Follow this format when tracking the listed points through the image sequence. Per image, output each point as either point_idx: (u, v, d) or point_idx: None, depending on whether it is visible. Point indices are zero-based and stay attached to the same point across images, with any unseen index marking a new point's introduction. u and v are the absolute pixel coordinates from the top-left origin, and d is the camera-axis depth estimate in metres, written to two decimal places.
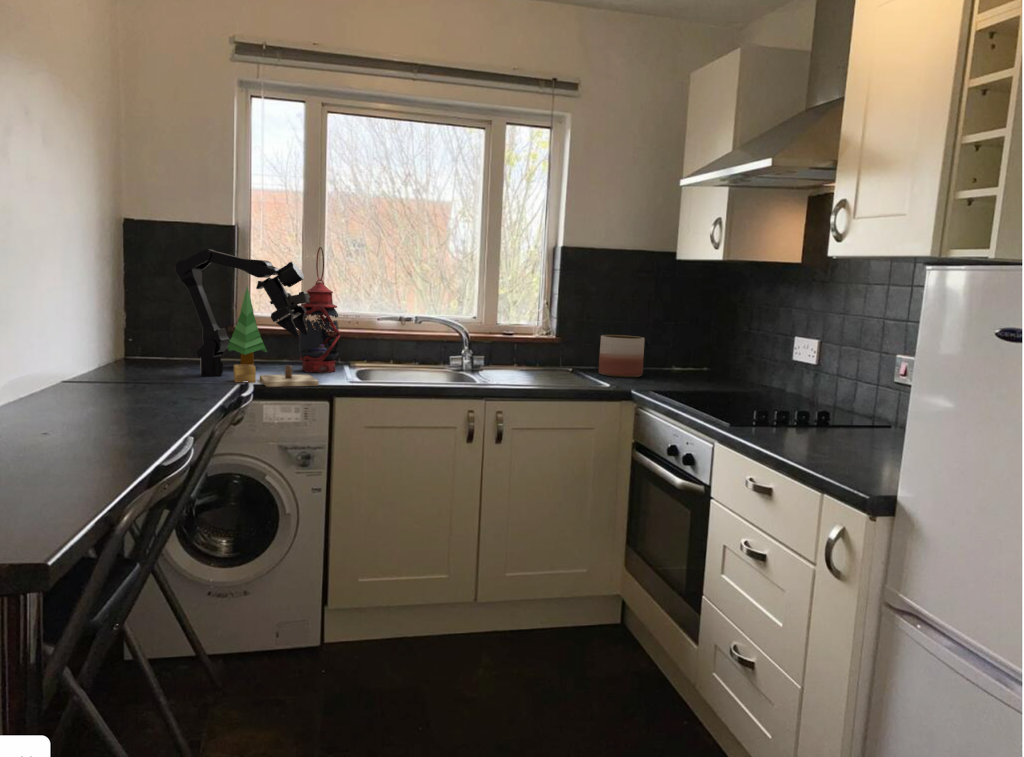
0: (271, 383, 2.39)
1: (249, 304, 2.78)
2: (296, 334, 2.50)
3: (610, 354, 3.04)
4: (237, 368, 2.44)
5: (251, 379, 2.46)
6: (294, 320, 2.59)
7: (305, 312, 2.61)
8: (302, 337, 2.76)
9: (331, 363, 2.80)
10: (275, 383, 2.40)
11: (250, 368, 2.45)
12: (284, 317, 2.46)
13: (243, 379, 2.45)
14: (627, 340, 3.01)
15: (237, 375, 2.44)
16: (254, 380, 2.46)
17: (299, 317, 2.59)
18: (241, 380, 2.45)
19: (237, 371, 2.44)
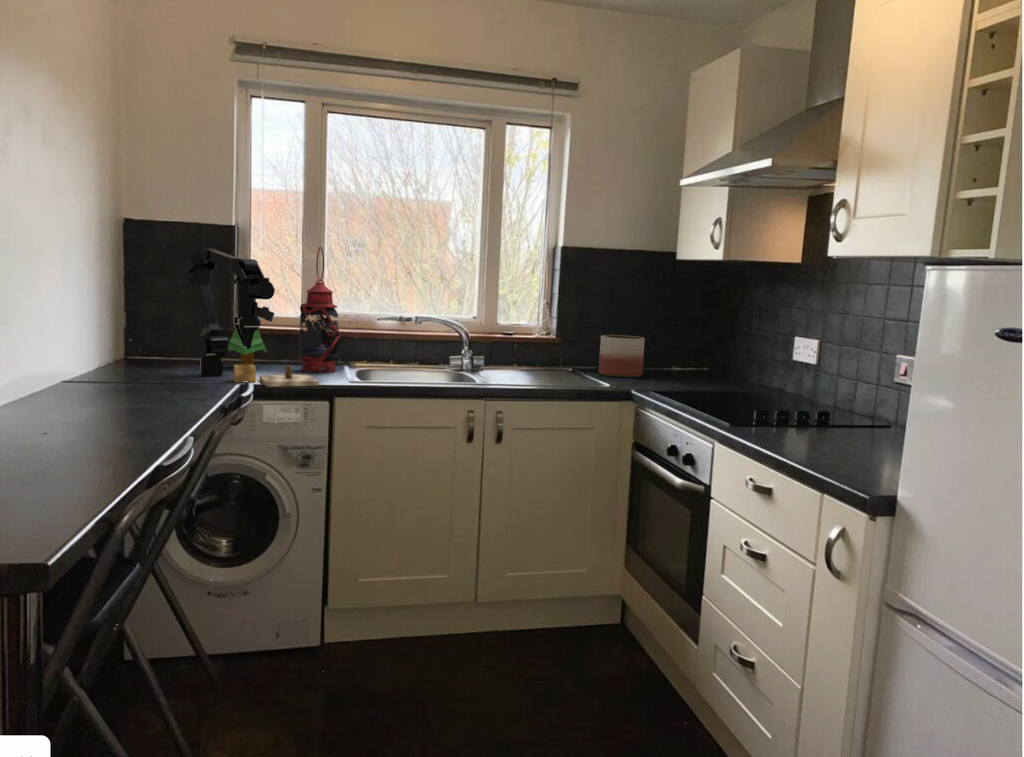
0: (271, 383, 2.39)
1: None
2: (249, 346, 2.42)
3: (610, 354, 3.04)
4: (237, 368, 2.44)
5: (251, 379, 2.46)
6: (240, 326, 2.50)
7: None
8: (302, 337, 2.76)
9: (331, 363, 2.80)
10: (275, 383, 2.40)
11: (250, 368, 2.45)
12: (251, 327, 2.39)
13: (243, 379, 2.45)
14: (627, 340, 3.01)
15: (237, 375, 2.44)
16: (254, 380, 2.46)
17: None
18: (241, 380, 2.45)
19: (237, 371, 2.44)
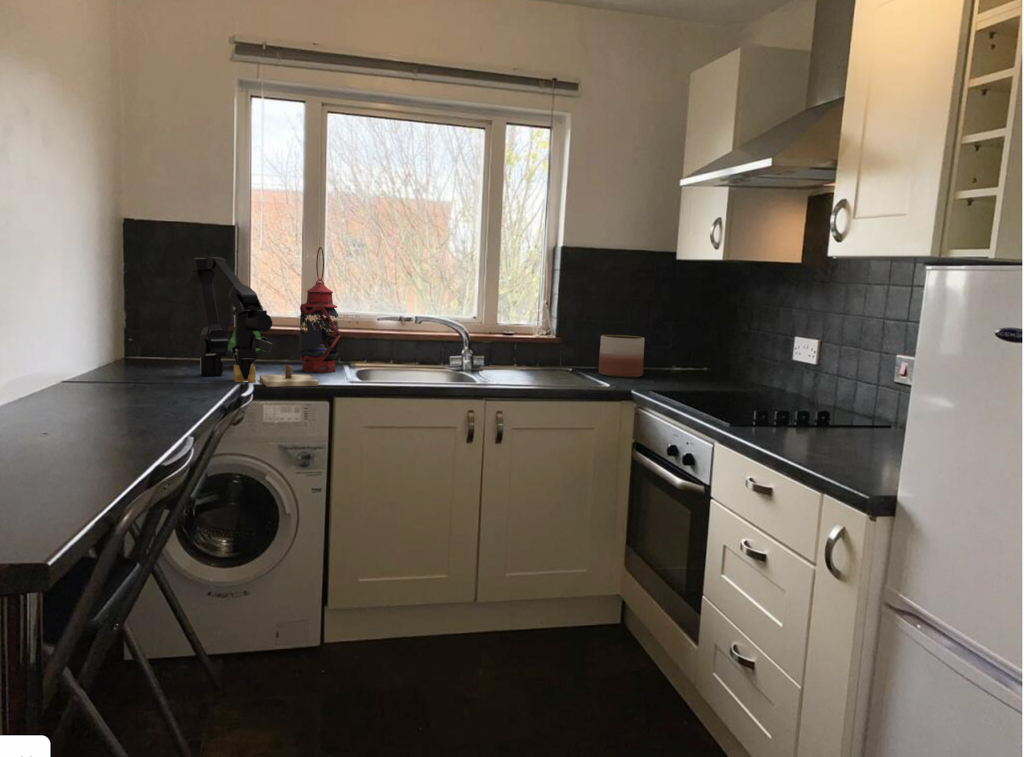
0: (271, 383, 2.39)
1: None
2: (246, 377, 2.45)
3: (610, 354, 3.04)
4: (237, 368, 2.44)
5: (251, 379, 2.46)
6: None
7: None
8: (302, 337, 2.76)
9: (331, 363, 2.80)
10: (275, 383, 2.40)
11: (250, 368, 2.45)
12: (248, 358, 2.41)
13: (243, 379, 2.45)
14: (627, 340, 3.01)
15: (237, 375, 2.44)
16: (254, 380, 2.46)
17: None
18: (241, 380, 2.45)
19: (237, 371, 2.44)
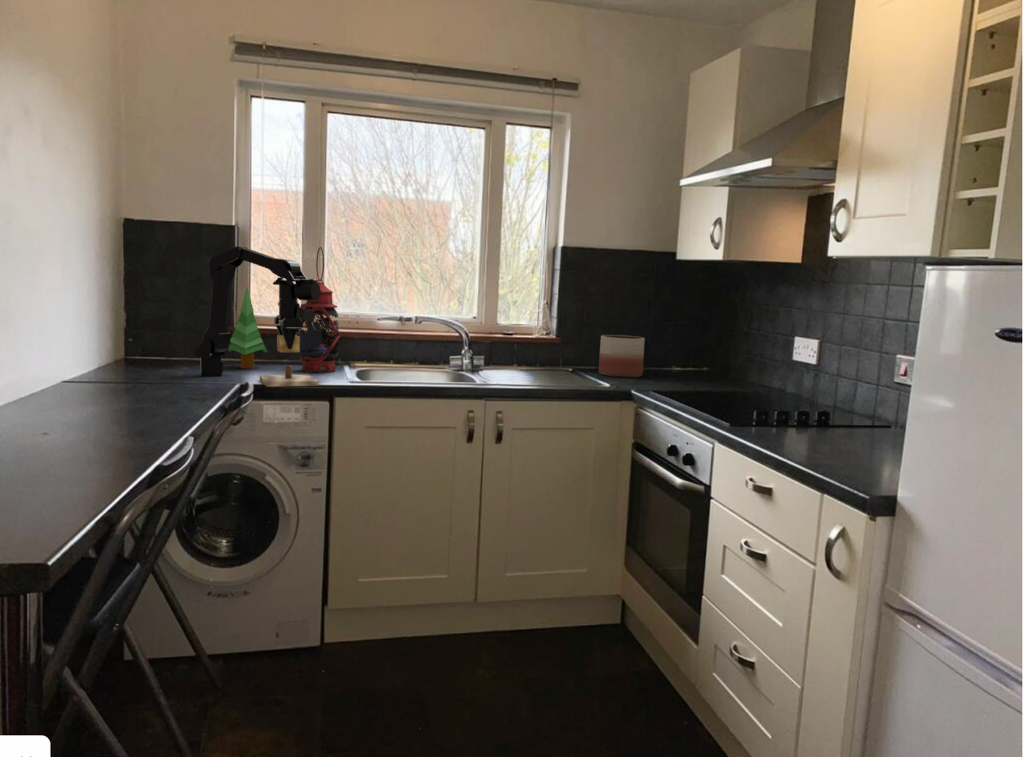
0: (271, 383, 2.39)
1: (249, 304, 2.78)
2: (290, 347, 2.44)
3: (610, 354, 3.04)
4: (281, 338, 2.43)
5: (295, 349, 2.46)
6: None
7: None
8: (302, 337, 2.76)
9: (331, 363, 2.80)
10: (275, 383, 2.40)
11: (294, 338, 2.45)
12: (293, 328, 2.41)
13: (287, 349, 2.45)
14: (627, 340, 3.01)
15: (281, 345, 2.44)
16: (298, 350, 2.46)
17: None
18: (285, 350, 2.44)
19: (281, 341, 2.43)
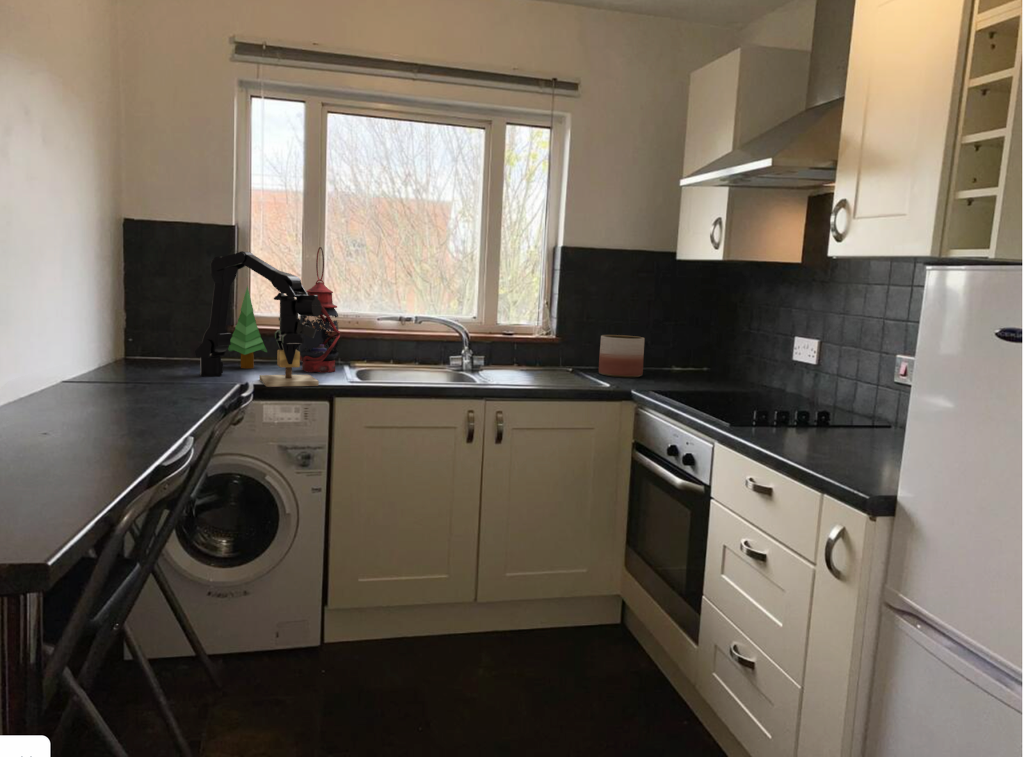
0: (271, 383, 2.39)
1: (249, 304, 2.78)
2: (290, 362, 2.45)
3: (610, 354, 3.04)
4: (282, 353, 2.44)
5: (295, 364, 2.46)
6: (282, 342, 2.50)
7: None
8: None
9: (331, 363, 2.80)
10: (275, 383, 2.40)
11: None
12: (294, 343, 2.42)
13: (287, 364, 2.45)
14: (627, 340, 3.01)
15: (282, 360, 2.44)
16: (298, 365, 2.47)
17: None
18: (286, 365, 2.45)
19: (282, 356, 2.44)
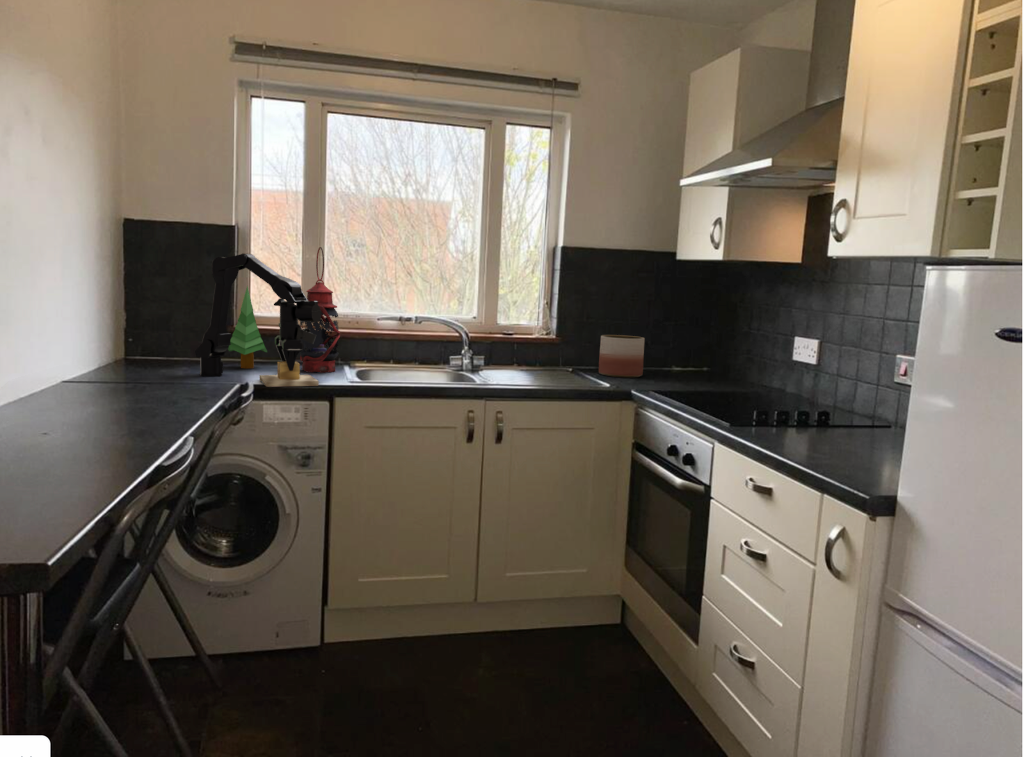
0: (271, 383, 2.39)
1: (249, 304, 2.78)
2: (291, 368, 2.44)
3: (610, 354, 3.04)
4: (282, 365, 2.45)
5: (295, 376, 2.47)
6: (282, 348, 2.52)
7: None
8: None
9: (331, 363, 2.80)
10: (275, 383, 2.40)
11: (294, 365, 2.46)
12: (294, 349, 2.41)
13: (287, 376, 2.46)
14: (627, 340, 3.01)
15: (281, 372, 2.45)
16: (298, 377, 2.47)
17: None
18: (285, 377, 2.46)
19: (282, 368, 2.45)
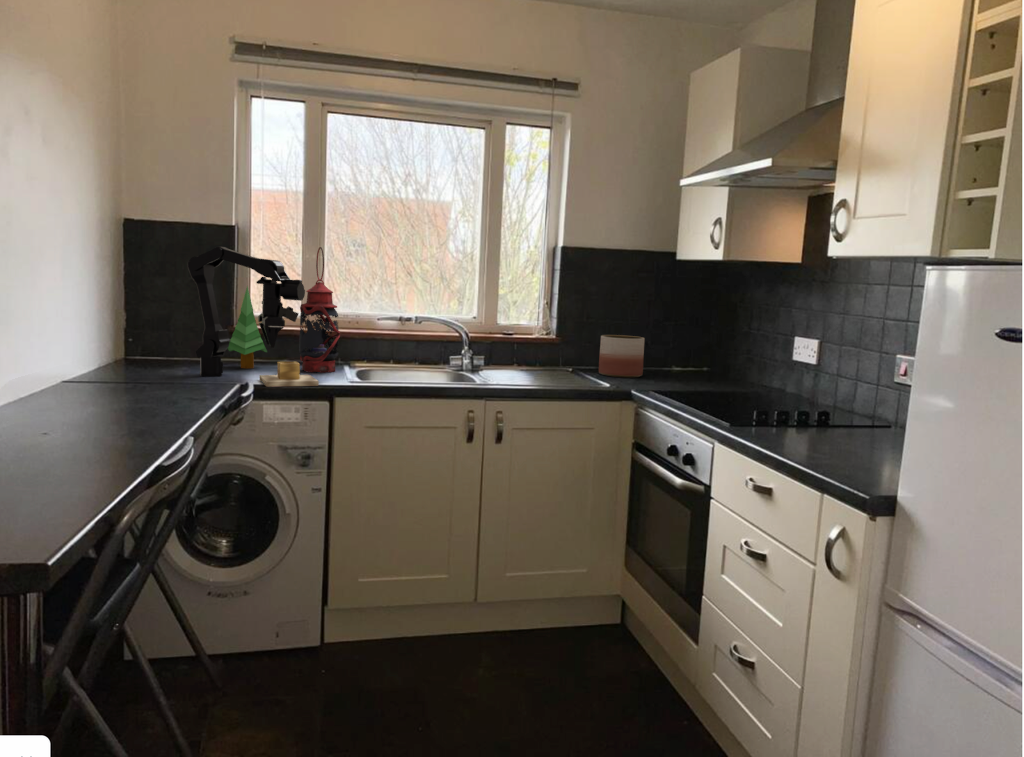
0: (271, 383, 2.39)
1: (249, 304, 2.78)
2: (272, 345, 2.49)
3: (610, 354, 3.04)
4: (282, 365, 2.45)
5: (295, 376, 2.47)
6: None
7: None
8: (302, 337, 2.76)
9: (331, 363, 2.80)
10: (275, 383, 2.40)
11: (294, 365, 2.46)
12: (276, 327, 2.46)
13: (287, 376, 2.46)
14: (627, 340, 3.01)
15: (281, 372, 2.45)
16: (298, 377, 2.47)
17: None
18: (285, 377, 2.46)
19: (282, 368, 2.45)
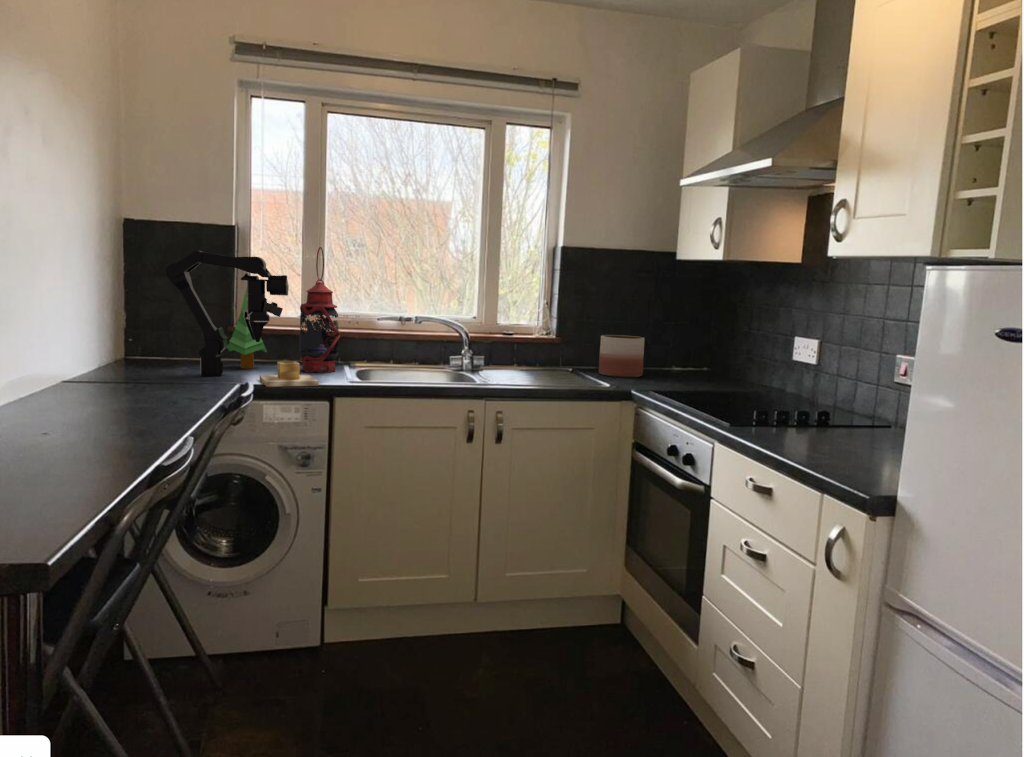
0: (271, 383, 2.39)
1: None
2: (258, 340, 2.55)
3: (610, 354, 3.04)
4: (282, 365, 2.45)
5: (295, 376, 2.47)
6: None
7: None
8: (302, 337, 2.76)
9: (331, 363, 2.80)
10: (275, 383, 2.40)
11: (294, 365, 2.46)
12: (261, 321, 2.52)
13: (287, 376, 2.46)
14: (627, 340, 3.01)
15: (281, 372, 2.45)
16: (298, 377, 2.47)
17: None
18: (285, 377, 2.46)
19: (282, 368, 2.45)
